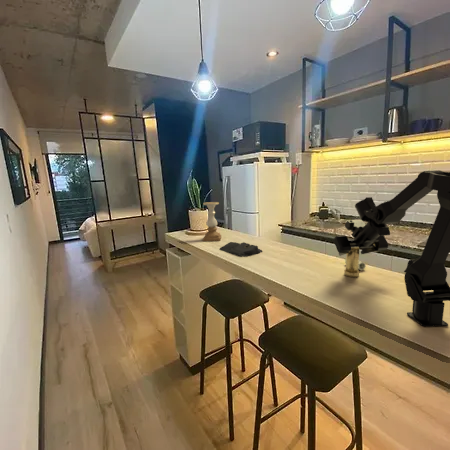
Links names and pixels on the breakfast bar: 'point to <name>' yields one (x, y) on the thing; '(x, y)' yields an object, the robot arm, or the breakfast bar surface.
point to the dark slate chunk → (241, 249)
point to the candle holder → (211, 223)
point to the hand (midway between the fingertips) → (350, 254)
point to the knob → (352, 263)
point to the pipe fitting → (360, 265)
